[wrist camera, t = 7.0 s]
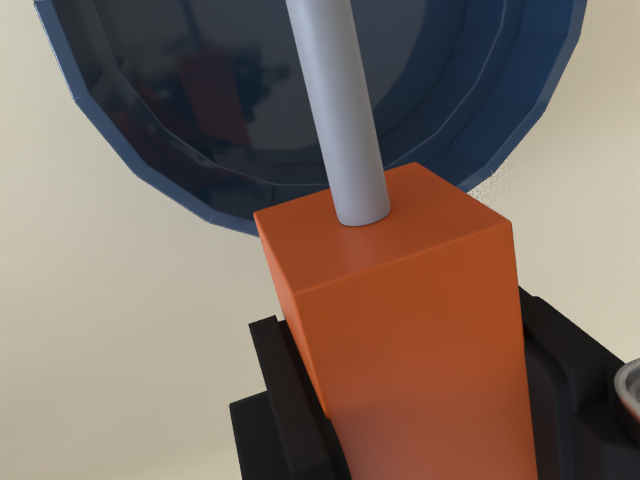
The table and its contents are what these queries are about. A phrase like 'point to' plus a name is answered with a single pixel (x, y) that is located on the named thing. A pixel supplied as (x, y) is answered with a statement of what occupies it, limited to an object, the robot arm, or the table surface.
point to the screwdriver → (397, 291)
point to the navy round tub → (303, 90)
